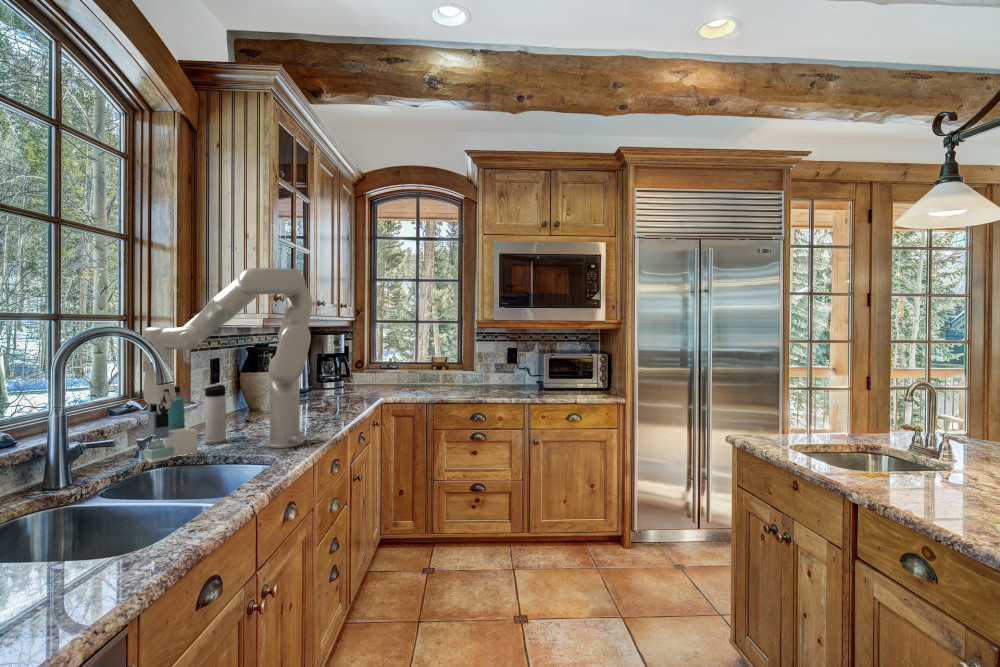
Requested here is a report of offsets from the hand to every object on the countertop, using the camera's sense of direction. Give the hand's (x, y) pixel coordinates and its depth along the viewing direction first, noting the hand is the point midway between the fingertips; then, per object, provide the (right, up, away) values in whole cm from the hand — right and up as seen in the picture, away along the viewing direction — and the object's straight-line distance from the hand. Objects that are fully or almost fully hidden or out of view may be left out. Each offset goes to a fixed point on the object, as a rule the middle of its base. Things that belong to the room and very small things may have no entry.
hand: (158, 425), depth 149 cm
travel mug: (+6, -10, +21) cm, 24 cm away
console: (+2, -10, +3) cm, 11 cm away
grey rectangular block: (0, -4, 0) cm, 4 cm away
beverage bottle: (-9, -10, +20) cm, 24 cm away
